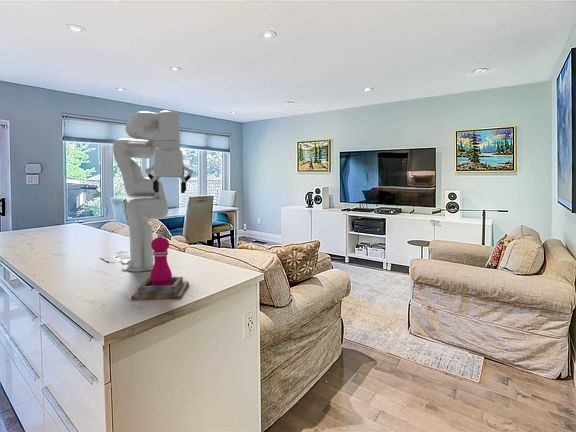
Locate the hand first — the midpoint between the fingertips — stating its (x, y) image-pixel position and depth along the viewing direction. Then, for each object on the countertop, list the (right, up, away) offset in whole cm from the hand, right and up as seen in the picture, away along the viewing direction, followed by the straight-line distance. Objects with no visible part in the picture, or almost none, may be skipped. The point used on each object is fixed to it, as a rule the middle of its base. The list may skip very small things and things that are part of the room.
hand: (169, 192), depth 131 cm
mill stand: (-1, -36, -6) cm, 36 cm away
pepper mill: (-1, -35, -6) cm, 35 cm away
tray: (-36, -31, +51) cm, 70 cm away
